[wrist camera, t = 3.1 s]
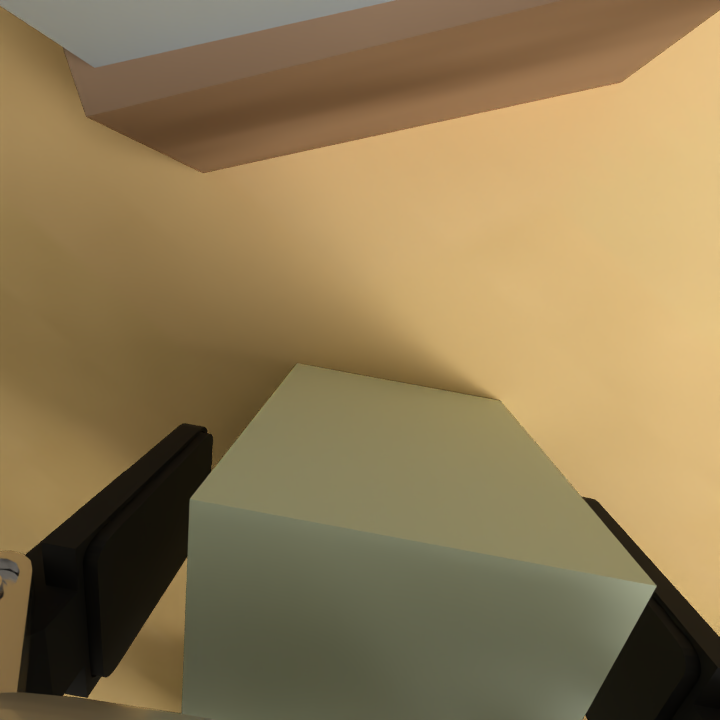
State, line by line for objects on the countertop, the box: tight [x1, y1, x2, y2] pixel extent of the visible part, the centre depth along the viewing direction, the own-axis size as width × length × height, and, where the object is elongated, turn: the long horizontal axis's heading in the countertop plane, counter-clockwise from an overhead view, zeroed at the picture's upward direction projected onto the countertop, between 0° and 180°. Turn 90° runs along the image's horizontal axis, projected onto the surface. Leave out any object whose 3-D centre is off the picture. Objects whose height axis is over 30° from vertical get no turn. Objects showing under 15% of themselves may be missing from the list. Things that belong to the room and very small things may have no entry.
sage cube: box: [182, 363, 657, 720], centre depth 8 cm, size 6×6×6 cm
